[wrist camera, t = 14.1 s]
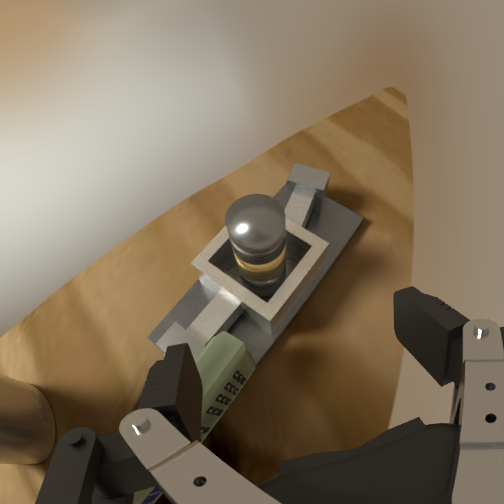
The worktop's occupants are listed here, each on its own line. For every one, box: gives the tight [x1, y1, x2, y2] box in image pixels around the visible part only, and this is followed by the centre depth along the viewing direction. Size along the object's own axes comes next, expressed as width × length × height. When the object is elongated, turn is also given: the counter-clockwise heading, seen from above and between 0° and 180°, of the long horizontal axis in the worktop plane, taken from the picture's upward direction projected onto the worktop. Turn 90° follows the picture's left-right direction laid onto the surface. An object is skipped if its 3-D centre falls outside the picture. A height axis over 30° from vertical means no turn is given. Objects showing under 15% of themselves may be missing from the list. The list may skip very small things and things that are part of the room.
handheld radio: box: [133, 331, 256, 504], centre depth 20 cm, size 7×3×25 cm
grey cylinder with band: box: [225, 194, 286, 296], centre depth 26 cm, size 4×4×9 cm
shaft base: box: [148, 163, 364, 371], centre depth 28 cm, size 22×9×5 cm, turn 142°
